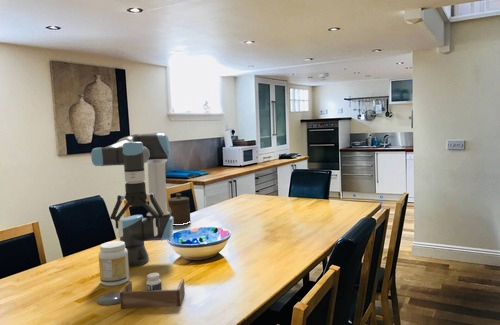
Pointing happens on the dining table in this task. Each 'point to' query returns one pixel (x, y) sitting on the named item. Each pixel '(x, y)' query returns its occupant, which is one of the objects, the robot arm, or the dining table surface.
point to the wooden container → (179, 209)
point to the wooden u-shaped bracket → (151, 297)
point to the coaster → (109, 298)
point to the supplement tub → (113, 263)
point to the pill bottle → (153, 282)
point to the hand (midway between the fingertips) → (138, 236)
